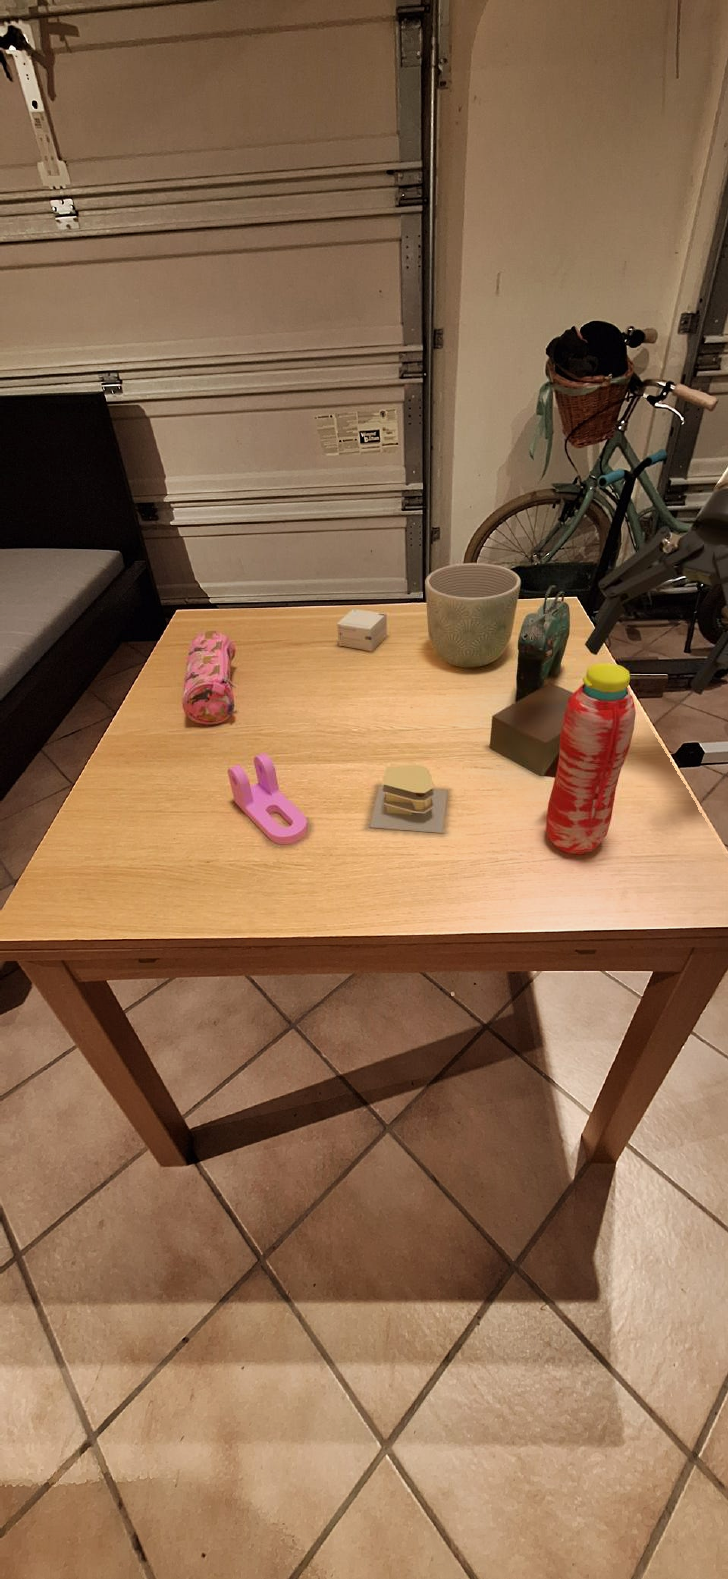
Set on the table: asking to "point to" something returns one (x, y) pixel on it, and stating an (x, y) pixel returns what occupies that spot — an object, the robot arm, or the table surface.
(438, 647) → the planter
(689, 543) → the robot arm
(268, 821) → the bracket
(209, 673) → the pencil case
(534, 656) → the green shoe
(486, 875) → the table surface
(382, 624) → the small box
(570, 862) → the table surface
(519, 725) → the walnut stand
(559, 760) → the water bottle
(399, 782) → the stacked layers on plate
